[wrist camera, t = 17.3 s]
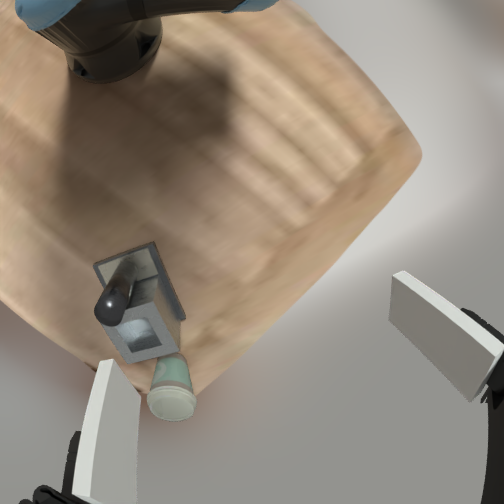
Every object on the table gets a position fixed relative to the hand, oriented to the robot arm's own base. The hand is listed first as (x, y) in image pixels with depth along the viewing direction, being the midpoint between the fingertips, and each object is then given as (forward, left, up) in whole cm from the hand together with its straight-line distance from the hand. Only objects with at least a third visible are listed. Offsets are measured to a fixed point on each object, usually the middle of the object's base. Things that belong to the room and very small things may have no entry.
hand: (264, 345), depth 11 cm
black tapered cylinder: (+5, -16, -30) cm, 34 cm away
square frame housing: (+9, -16, -31) cm, 36 cm away
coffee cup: (+26, -17, -31) cm, 44 cm away
